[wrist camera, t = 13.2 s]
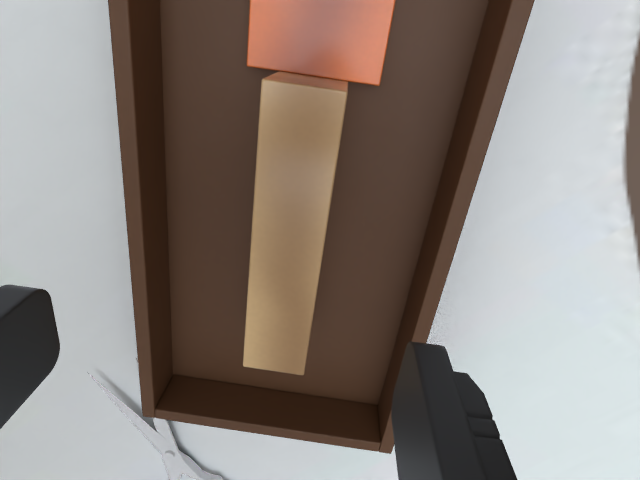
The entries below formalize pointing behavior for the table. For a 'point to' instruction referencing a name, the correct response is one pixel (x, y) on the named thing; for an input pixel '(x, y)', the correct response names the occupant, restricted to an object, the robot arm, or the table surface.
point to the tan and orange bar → (300, 157)
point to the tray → (344, 216)
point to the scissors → (163, 443)
